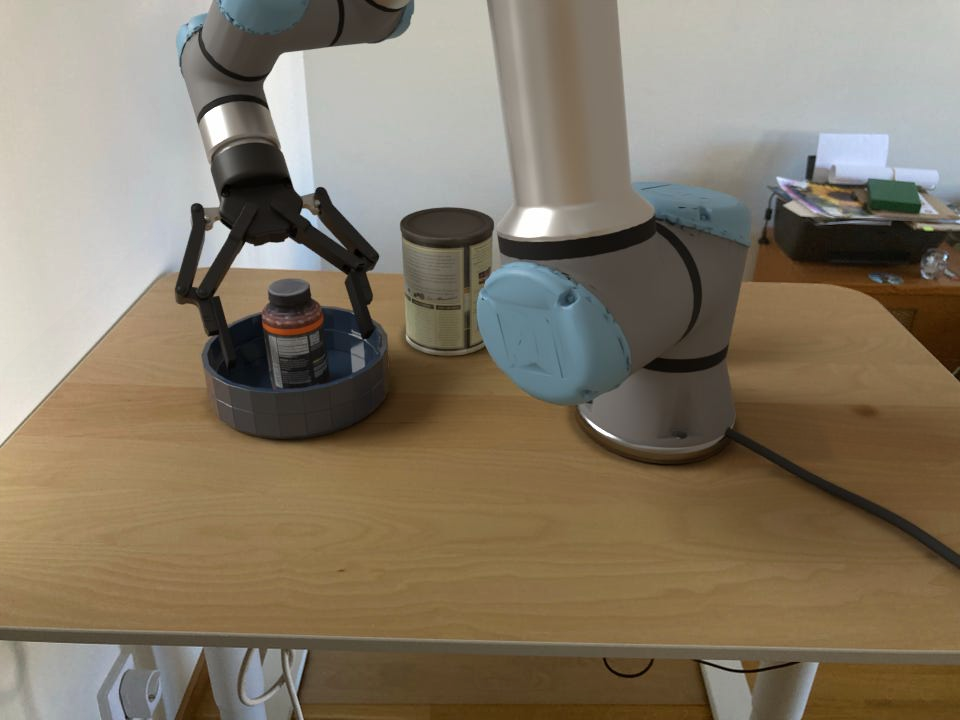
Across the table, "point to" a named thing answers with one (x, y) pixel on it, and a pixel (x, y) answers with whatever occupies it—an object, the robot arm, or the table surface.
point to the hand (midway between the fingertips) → (302, 349)
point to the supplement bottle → (294, 336)
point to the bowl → (298, 411)
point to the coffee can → (445, 277)
